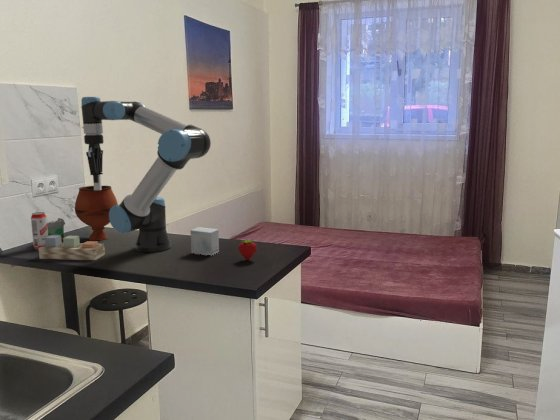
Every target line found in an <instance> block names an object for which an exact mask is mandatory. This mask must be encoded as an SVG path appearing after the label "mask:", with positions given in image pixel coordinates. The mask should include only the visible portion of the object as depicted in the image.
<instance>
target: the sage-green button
mask: <svg viewBox="0 0 560 420" xmlns="http://www.w3.org/2000/svg"><path fill="white" fill-rule="evenodd" d="M80 241H81V240H80V235H68V236H67V235H66V236H64V238H63V242H62V243H63V244H64V248H75V247H77V246H79V245H80Z"/></svg>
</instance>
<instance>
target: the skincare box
mask: <svg viewBox="0 0 560 420" xmlns="http://www.w3.org/2000/svg"><path fill="white" fill-rule="evenodd" d="M219 238H220V237H219V229H218V228H210V227H208V228H207V227H201V226H197V227H195V228H193V229H190V249H191V250H190V252H191V254H193V253H194V254H195V255H200V254H201V255H203V256H207V255H211V256H210V257H213V256H215V255H217V254H219V253H220V245H219V244H220V243H219V242H220V240H219ZM218 252H219V253H218ZM216 253H217V254H216ZM214 254H215V255H214ZM212 255H213V256H212Z"/></svg>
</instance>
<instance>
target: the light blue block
mask: <svg viewBox="0 0 560 420" xmlns="http://www.w3.org/2000/svg"><path fill="white" fill-rule="evenodd" d="M62 243H63V242H62V241H61V235H50V236H48V237H45V247H55V248H56V247H58V246H60V245H62Z"/></svg>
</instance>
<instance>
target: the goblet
mask: <svg viewBox="0 0 560 420" xmlns="http://www.w3.org/2000/svg"><path fill="white" fill-rule="evenodd" d="M101 188H102V190H94V185H87V186H81V187H79V188H78V194H77V195H76V198H75V202H74V213H75V215H76V217H77V218H78V219H79V220H80V221H81V222H82V223H84V224H85V225H87V226H89V227H91V230H92V233H91V234H90V235H89V236H88V240H89V241H104V240H107V239H108V238H109V236H108V235H107V234H106V232H105V231H104V230H105V227H106V226H107V225H109V224H111V223H110V219H109V211H110V209H111V208H112V207H113V206H115V205H119V203H118V199H117V198H116V196H115V194H114V192H113V189H112V186H111V185H101Z"/></svg>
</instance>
